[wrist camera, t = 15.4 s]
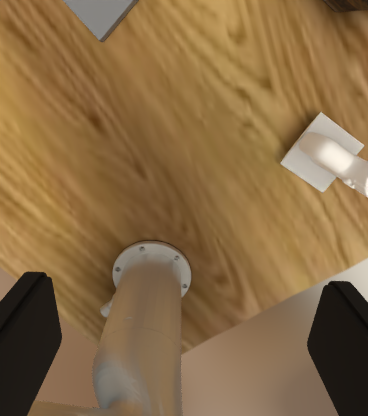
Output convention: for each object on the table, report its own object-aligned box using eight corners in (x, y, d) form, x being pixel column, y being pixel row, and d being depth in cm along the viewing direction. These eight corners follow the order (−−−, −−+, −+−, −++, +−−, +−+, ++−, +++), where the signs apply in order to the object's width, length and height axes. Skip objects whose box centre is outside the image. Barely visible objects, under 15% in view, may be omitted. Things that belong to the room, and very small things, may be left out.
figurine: (301, 104, 36) (376, 116, 22) (354, 144, 38) (452, 179, 24) (265, 152, 38) (311, 190, 24) (316, 187, 40) (386, 241, 26)
